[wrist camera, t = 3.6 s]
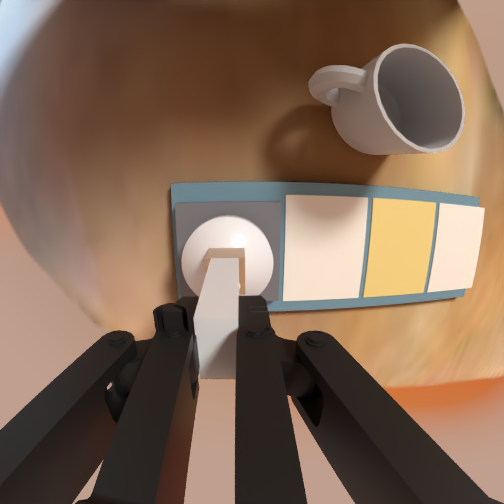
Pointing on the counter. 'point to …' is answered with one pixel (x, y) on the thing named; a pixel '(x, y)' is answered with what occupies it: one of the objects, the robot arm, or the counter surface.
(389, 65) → the cup
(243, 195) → the game board
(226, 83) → the counter surface
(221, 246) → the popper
